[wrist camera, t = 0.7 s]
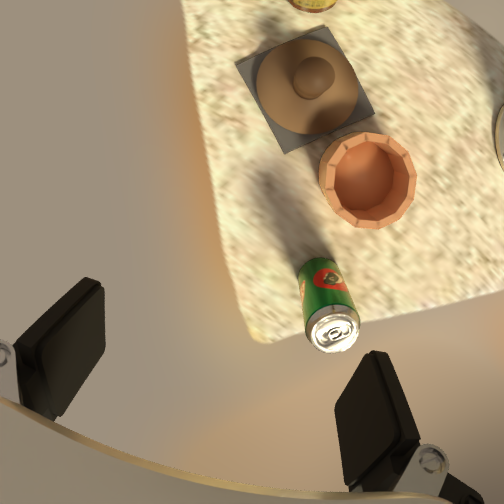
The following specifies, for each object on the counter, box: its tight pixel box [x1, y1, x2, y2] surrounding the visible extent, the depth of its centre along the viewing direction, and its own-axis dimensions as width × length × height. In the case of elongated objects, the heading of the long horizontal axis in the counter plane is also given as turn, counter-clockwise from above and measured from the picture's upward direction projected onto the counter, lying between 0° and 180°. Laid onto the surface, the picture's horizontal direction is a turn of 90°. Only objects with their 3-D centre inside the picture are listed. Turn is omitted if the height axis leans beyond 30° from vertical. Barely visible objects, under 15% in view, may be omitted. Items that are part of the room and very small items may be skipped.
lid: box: [256, 39, 358, 134], centre depth 26 cm, size 10×10×7 cm
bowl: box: [319, 132, 417, 229], centre depth 30 cm, size 9×9×5 cm
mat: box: [236, 27, 375, 154], centre depth 29 cm, size 11×11×1 cm
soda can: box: [298, 258, 360, 353], centre depth 31 cm, size 5×5×12 cm
